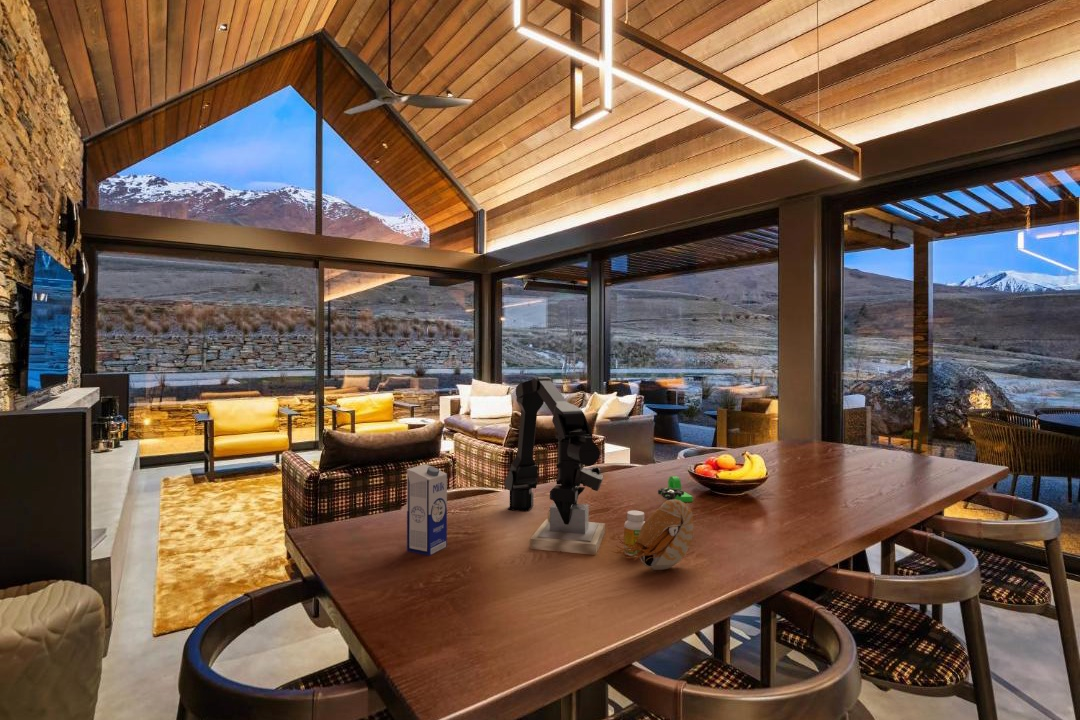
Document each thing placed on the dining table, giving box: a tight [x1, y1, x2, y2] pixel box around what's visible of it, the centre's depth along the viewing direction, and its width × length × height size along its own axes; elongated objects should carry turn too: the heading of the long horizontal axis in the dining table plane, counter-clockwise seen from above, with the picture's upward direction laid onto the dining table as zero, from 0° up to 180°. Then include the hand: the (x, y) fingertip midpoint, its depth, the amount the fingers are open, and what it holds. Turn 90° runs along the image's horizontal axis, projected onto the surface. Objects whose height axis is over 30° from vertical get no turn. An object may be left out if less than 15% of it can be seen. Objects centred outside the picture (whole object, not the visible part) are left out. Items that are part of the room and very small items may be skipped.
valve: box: [657, 486, 685, 501], centre depth 141 cm, size 7×7×12 cm
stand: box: [529, 518, 606, 556], centre depth 138 cm, size 16×17×3 cm
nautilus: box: [611, 499, 694, 571], centre depth 118 cm, size 8×22×15 cm, turn 119°
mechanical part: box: [659, 475, 694, 503], centre depth 181 cm, size 12×6×8 cm, turn 10°
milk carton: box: [406, 463, 448, 556], centre depth 131 cm, size 7×7×20 cm
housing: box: [547, 501, 590, 534], centre depth 138 cm, size 5×10×6 cm, turn 76°
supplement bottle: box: [623, 510, 646, 557], centre depth 129 cm, size 5×5×10 cm
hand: (569, 520), depth 138 cm, fingers open, 7 cm apart
